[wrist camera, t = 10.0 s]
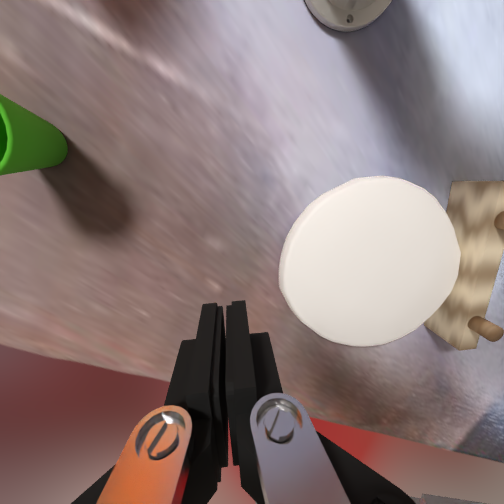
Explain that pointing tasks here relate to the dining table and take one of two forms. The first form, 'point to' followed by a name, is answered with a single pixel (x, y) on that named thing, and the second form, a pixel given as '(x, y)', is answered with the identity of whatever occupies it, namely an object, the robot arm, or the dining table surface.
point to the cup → (27, 140)
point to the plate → (369, 261)
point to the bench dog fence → (472, 263)
